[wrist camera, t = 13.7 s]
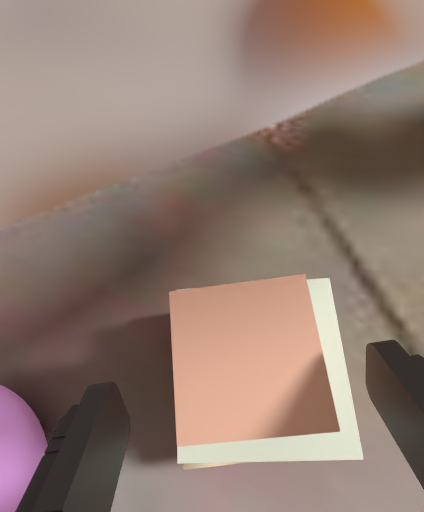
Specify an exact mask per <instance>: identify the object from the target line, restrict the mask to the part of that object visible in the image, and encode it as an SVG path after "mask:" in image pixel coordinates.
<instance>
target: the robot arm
mask: <svg viewBox="0 0 424 512" xmlns="http://www.w3.org/2000/svg"><path fill="white" fill-rule="evenodd" d="M366 386H367V390H368V393H369V396H370V398H371V401H372V402H373V404H374V406H375V408H376V409H377V411H378V413H379V414H380V416H381V418H382V419H383V421H384V423H385V424H386V426H387V428H388V430H389V431H390V433H391V435H392V436H393V438H394V440H395V441H396V443H397V445H398V446H399V448H400V450H401V451H402V453H403V455H404V457H405V458H406V460H407V462H408V463H409V465H410V467H411V468H412V470H413V472H414V473H415V475H416V477H417V479H418V480H419V482H420V484H421V485H422V487H423V489H424V358H423V357H422V356H420V355H411V356H409V355H408V353H407V352H406V351H405V350H404V349H403V348H402V347H401V345H400V344H399V343H398V342H397V341H395V340H388V341H381V342H375V343H369V344H367V346H366ZM129 433H130V420H129V415H128V412H127V410H126V407H125V405H124V402H123V400H122V397H121V395H120V392H119V390H118V387H117V385H116V384H115V383H114V382H109V383H102V384H96V385H90V386H89V387H88V388H87V390H86V392H85V394H84V396H83V398H82V401H81V403H80V404H79V405H73V406H72V408H71V409H70V410H69V411H68V412H67V413H66V414H65V416H64V417H63V418H62V419H61V420H60V422H59V424H58V426H57V428H56V430H55V432H54V434H53V436H52V441H50V442H49V444H48V446H47V448H46V450H45V452H44V453H45V455H44V456H42V458H41V460H40V462H39V464H38V466H37V469H36V471H35V473H34V475H33V477H32V479H31V481H30V483H29V485H28V487H27V489H26V491H25V493H24V495H23V497H22V499H21V501H20V503H19V505H18V507H17V509H16V511H15V512H110V511H111V507H112V503H113V499H114V495H115V491H116V487H117V483H118V478H119V474H120V470H121V466H122V462H123V458H124V454H125V450H126V446H127V442H128V438H129Z"/></svg>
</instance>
